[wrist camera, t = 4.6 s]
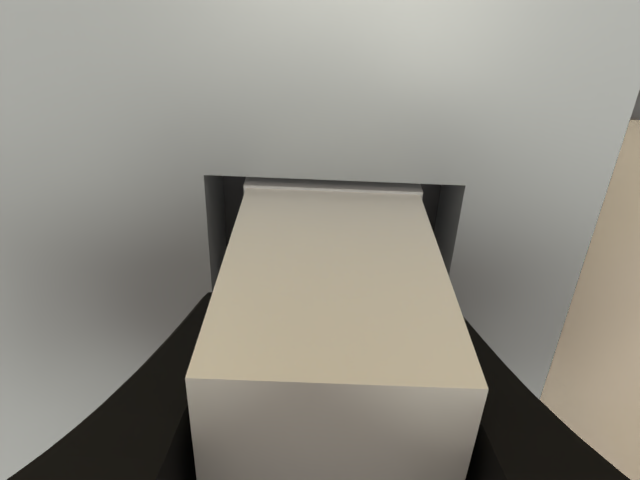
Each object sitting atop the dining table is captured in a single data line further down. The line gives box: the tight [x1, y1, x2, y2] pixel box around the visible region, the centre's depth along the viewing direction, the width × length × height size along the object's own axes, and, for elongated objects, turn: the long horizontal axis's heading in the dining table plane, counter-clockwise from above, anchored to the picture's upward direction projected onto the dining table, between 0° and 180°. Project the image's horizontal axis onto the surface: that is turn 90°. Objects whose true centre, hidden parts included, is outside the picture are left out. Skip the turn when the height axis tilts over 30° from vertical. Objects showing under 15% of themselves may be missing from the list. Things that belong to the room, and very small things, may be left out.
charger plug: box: [185, 177, 489, 480], centre depth 10 cm, size 4×3×6 cm
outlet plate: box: [0, 0, 640, 480], centre depth 13 cm, size 18×14×2 cm
